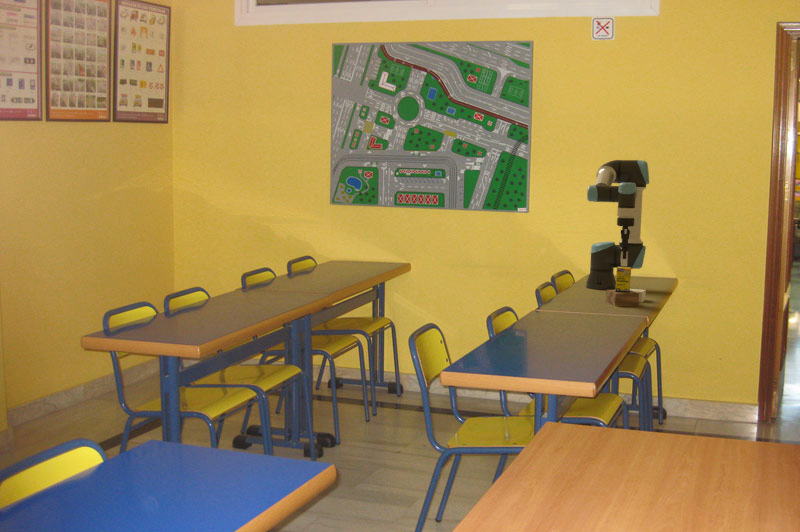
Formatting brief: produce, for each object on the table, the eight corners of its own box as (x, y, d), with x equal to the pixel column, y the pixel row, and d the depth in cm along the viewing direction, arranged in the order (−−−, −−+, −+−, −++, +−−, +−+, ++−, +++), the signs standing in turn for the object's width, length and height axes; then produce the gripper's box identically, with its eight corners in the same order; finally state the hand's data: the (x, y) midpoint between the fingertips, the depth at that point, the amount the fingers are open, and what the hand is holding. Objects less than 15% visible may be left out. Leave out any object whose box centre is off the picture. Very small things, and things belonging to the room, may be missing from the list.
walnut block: (605, 302, 397) (606, 289, 396) (628, 302, 399) (628, 289, 398) (615, 306, 386) (615, 293, 386) (638, 306, 388) (638, 293, 387)
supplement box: (615, 291, 390) (616, 267, 389) (616, 290, 396) (617, 266, 394) (628, 292, 388) (630, 268, 387) (629, 290, 394) (631, 267, 392)
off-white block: (624, 301, 401) (624, 290, 401) (627, 298, 408) (628, 288, 408) (641, 302, 398) (642, 292, 397) (645, 300, 405) (645, 289, 404)
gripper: (635, 219, 375) (633, 268, 378) (633, 215, 399) (631, 260, 402) (617, 219, 376) (615, 267, 379) (617, 214, 401) (615, 260, 403)
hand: (623, 264), depth 391 cm, fingers open, 13 cm apart
